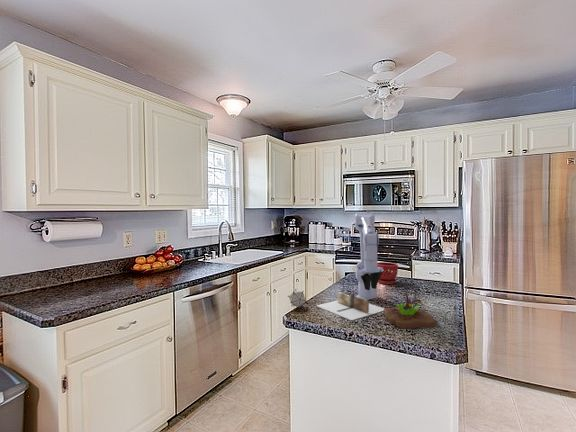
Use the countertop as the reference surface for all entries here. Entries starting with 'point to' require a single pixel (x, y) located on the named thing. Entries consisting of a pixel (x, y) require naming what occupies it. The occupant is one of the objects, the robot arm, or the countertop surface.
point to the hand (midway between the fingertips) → (370, 289)
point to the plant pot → (388, 272)
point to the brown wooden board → (361, 304)
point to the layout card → (349, 310)
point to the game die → (297, 298)
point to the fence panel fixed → (346, 299)
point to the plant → (409, 315)
